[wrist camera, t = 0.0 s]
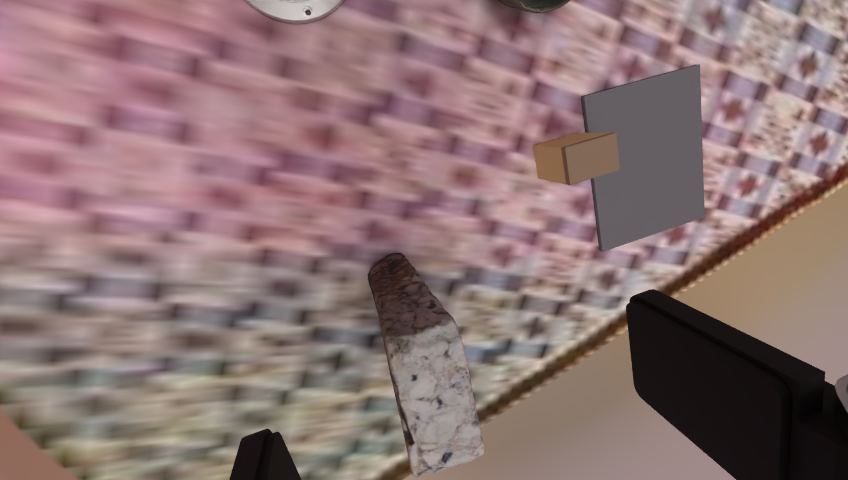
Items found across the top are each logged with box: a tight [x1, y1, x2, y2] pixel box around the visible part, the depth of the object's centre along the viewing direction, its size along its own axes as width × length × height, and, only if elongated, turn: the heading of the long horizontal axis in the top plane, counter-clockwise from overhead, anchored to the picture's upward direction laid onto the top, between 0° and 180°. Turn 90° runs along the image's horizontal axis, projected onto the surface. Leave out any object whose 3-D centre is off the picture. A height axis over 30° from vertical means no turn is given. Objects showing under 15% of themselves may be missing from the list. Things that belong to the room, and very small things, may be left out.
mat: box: [581, 64, 705, 252], centre depth 51 cm, size 20×16×1 cm
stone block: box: [368, 253, 484, 477], centre depth 40 cm, size 13×7×20 cm, turn 17°
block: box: [533, 133, 620, 185], centre depth 46 cm, size 4×6×7 cm, turn 105°
